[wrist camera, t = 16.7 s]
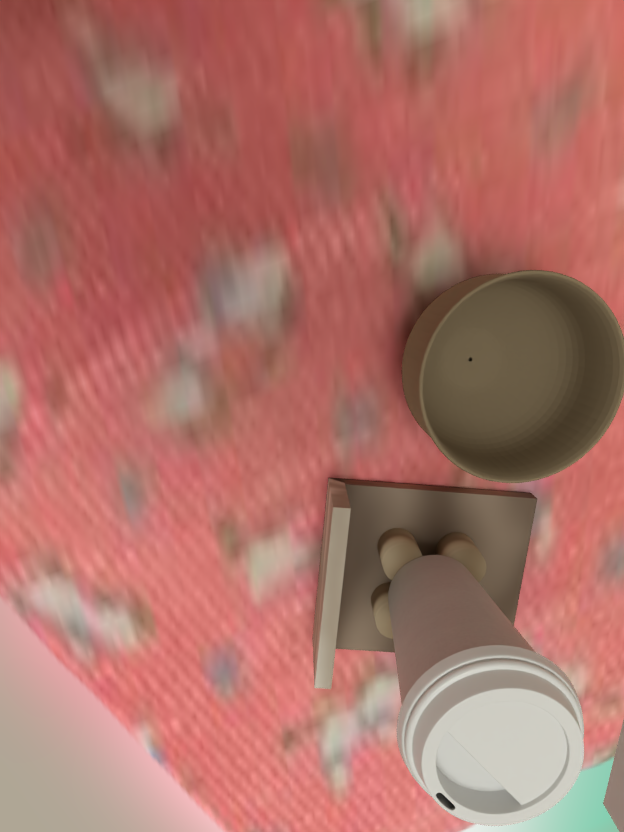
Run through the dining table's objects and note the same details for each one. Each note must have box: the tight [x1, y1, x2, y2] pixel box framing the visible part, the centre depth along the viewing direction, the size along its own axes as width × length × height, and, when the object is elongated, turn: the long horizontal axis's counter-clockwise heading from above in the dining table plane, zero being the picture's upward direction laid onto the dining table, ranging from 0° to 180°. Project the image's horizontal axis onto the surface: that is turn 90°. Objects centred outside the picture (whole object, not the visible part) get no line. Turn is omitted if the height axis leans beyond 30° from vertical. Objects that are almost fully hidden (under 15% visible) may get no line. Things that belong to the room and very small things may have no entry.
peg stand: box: [312, 478, 537, 689], centre depth 43 cm, size 16×14×6 cm
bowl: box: [402, 270, 624, 483], centre depth 38 cm, size 13×13×10 cm
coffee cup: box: [388, 555, 584, 826], centre depth 35 cm, size 10×10×15 cm
